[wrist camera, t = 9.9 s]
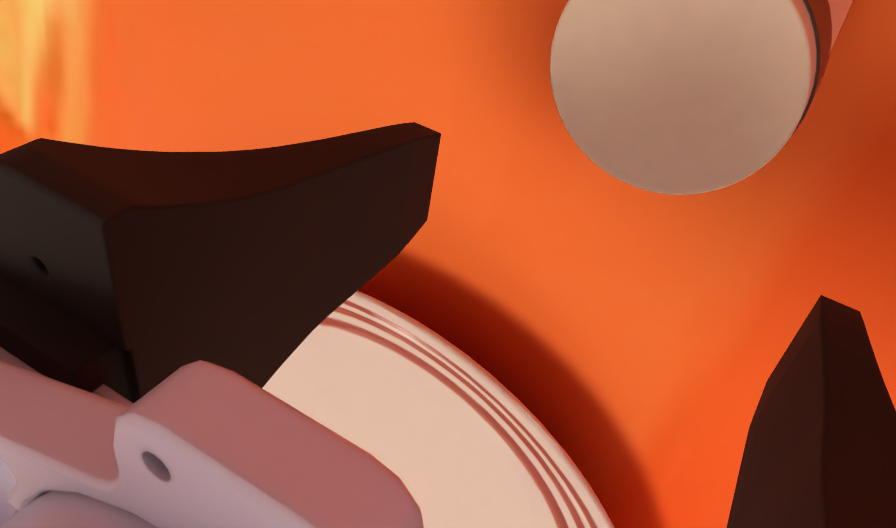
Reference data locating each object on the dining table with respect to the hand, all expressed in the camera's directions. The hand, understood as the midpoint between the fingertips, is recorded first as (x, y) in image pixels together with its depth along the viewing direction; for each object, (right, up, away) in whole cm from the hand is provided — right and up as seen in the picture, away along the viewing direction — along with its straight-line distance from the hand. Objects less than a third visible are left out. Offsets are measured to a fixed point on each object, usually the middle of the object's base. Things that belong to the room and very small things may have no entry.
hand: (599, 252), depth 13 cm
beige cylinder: (+5, +7, +5) cm, 10 cm away
